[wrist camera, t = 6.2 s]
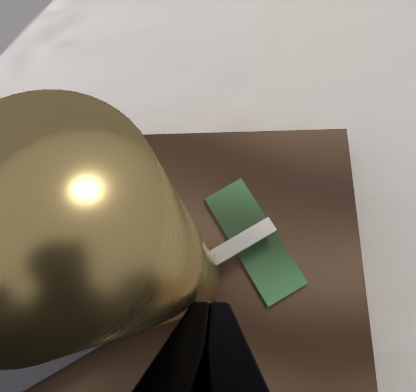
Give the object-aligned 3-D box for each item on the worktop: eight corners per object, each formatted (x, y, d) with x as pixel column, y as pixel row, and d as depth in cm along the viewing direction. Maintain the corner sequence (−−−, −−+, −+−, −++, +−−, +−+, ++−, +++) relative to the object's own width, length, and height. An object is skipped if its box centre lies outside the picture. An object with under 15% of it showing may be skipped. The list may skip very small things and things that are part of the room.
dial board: (382, 564, 12) (405, 606, 10) (-121, 528, 13) (-169, 559, 12) (337, 143, 16) (347, 126, 15) (-33, 153, 18) (-60, 138, 16)
